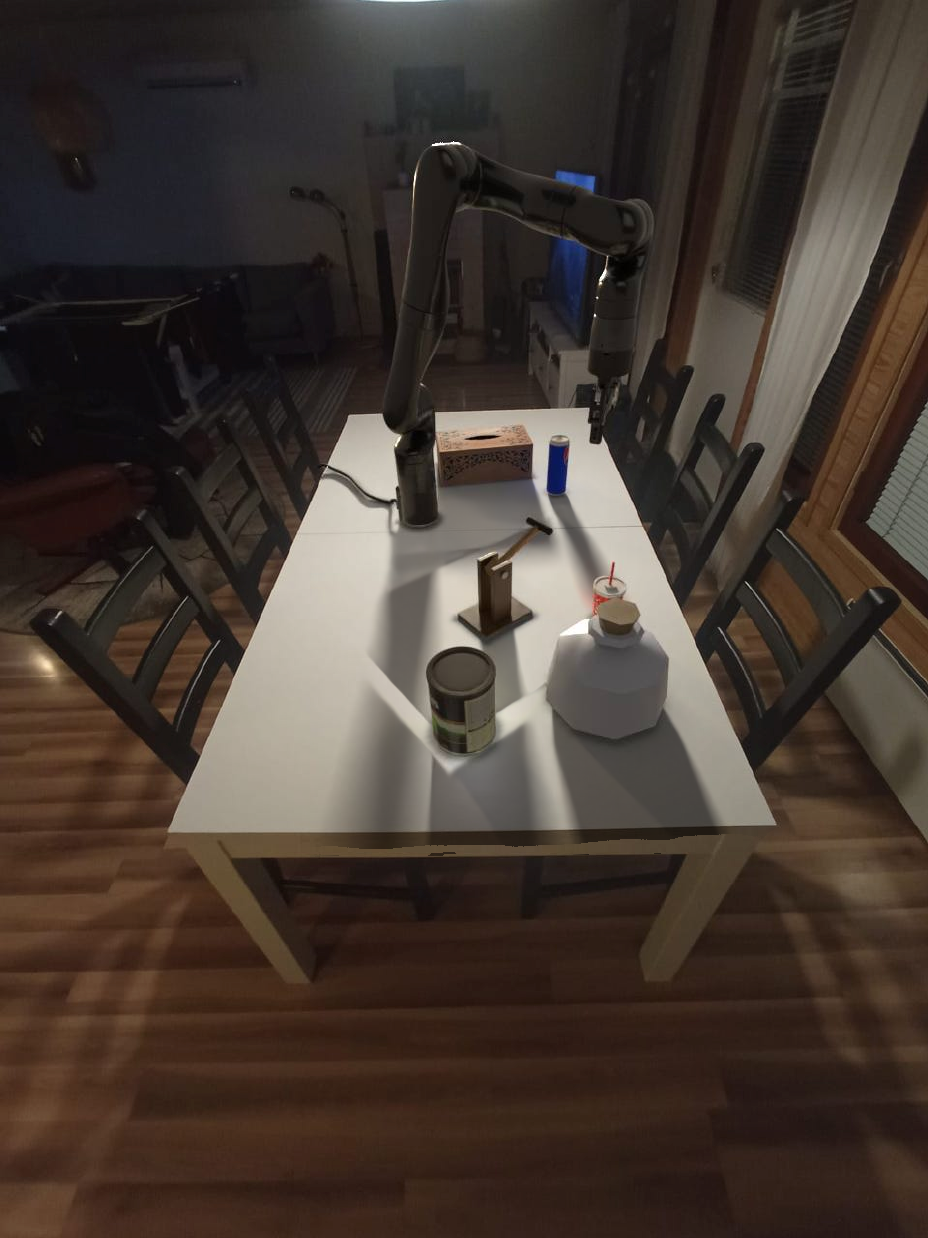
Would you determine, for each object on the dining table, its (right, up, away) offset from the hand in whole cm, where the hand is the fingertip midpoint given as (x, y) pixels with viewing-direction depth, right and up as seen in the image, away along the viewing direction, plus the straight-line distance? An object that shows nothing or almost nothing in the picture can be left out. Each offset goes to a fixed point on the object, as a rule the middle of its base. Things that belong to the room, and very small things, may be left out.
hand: (600, 434), depth 107 cm
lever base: (-20, -35, +5) cm, 41 cm away
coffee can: (-26, -54, -16) cm, 62 cm away
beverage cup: (+1, -36, +3) cm, 36 cm away
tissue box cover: (-20, +8, +57) cm, 61 cm away
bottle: (-2, -49, -12) cm, 50 cm away
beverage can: (-1, -1, +45) cm, 45 cm away
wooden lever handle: (-16, -23, -1) cm, 28 cm away
